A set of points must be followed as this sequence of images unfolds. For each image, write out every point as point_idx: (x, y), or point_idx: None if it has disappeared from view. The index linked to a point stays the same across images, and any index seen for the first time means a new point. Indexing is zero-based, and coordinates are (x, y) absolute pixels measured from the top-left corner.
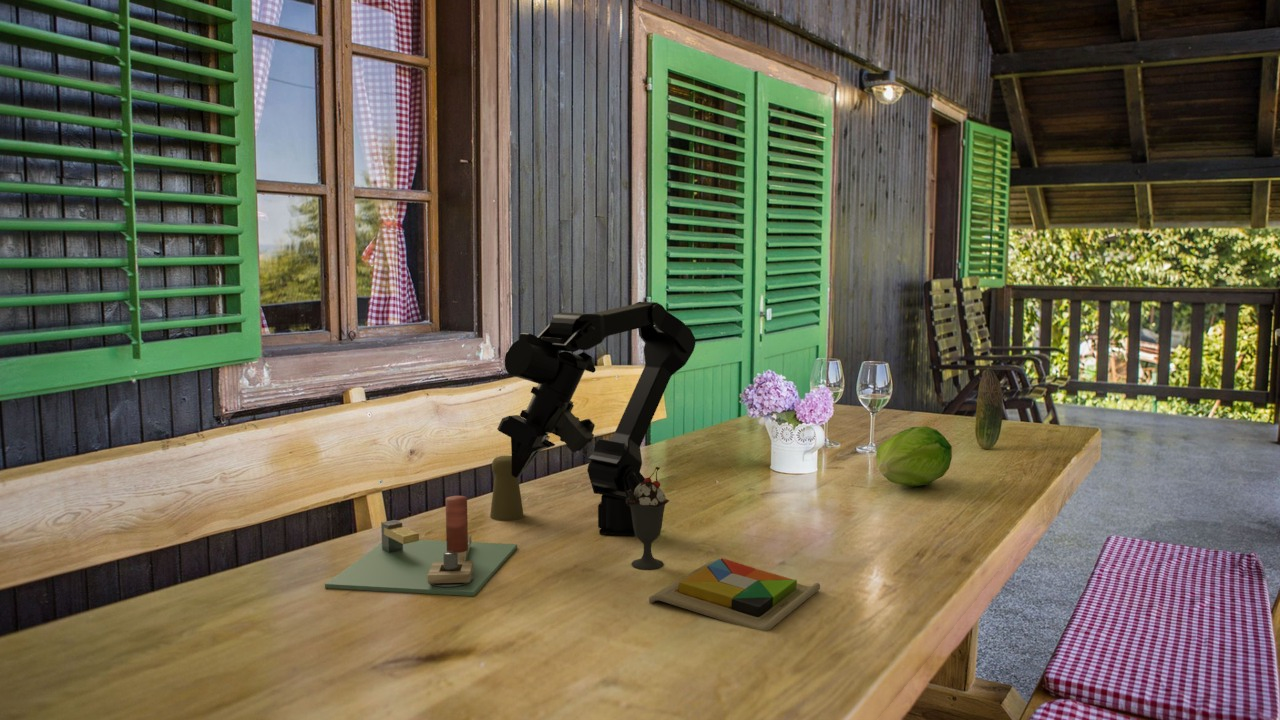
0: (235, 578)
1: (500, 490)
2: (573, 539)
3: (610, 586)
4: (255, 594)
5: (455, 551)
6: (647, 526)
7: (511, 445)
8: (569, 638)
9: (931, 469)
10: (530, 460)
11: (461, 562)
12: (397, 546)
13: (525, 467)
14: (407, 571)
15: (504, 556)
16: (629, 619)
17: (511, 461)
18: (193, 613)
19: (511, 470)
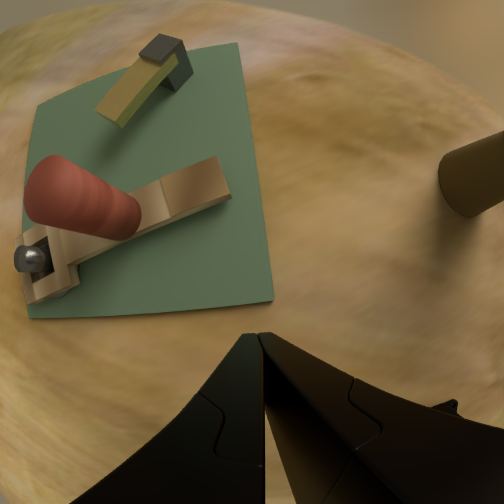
0: (78, 20)
1: (481, 159)
2: None
3: None
4: (34, 68)
5: (27, 264)
6: None
7: (144, 445)
8: (11, 440)
9: None
10: (285, 468)
11: (60, 265)
12: (165, 84)
13: (270, 422)
14: None
15: (180, 307)
16: (66, 493)
17: (220, 364)
18: (7, 70)
19: (237, 341)
